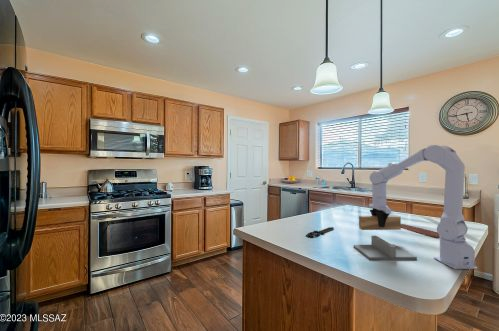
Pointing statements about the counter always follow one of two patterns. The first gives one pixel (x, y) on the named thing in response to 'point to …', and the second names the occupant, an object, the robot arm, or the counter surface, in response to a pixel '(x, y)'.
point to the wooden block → (372, 224)
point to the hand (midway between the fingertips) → (379, 225)
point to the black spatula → (319, 232)
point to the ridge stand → (383, 251)
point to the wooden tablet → (421, 231)
